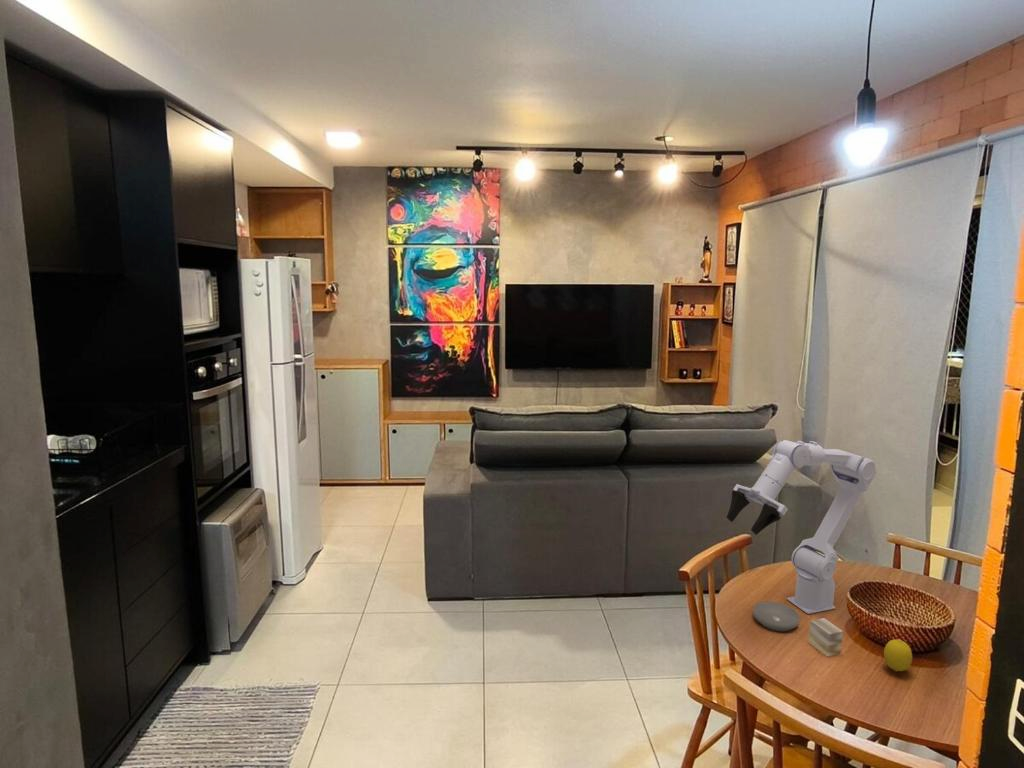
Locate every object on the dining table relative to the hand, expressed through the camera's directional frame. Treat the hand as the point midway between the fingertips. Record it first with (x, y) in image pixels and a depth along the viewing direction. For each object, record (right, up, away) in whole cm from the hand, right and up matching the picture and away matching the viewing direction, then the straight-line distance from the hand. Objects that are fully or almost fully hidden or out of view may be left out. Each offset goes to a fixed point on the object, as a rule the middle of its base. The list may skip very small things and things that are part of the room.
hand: (741, 526), depth 153 cm
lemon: (+32, -31, -10) cm, 46 cm away
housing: (+20, -29, -2) cm, 35 cm away
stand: (+12, -27, +9) cm, 31 cm away
